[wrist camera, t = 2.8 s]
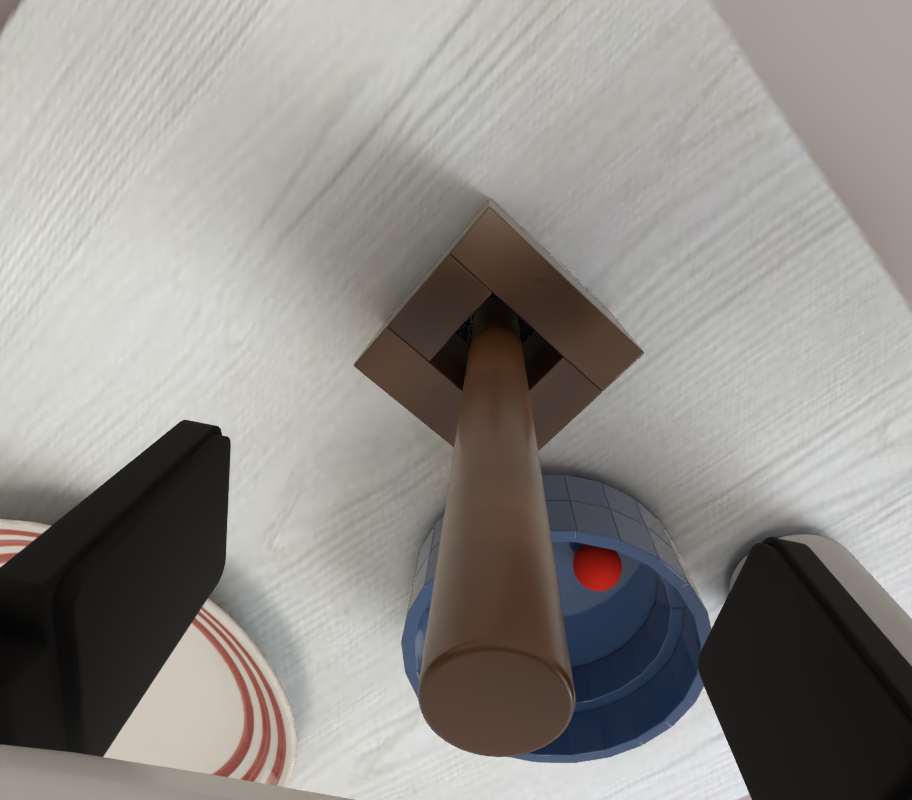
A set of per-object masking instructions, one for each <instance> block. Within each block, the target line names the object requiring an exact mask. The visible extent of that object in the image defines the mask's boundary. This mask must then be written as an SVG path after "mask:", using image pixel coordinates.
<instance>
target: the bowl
mask: <svg viewBox="0 0 912 800" xmlns="http://www.w3.org/2000/svg"><path fill="white" fill-rule="evenodd" d="M542 480H543V486H544V493H545V499H546V506H547V512H548V519H549V525H550V532H551V539H552V545H553V552H554V558H555V565H556V571H557V578H558V584H559V591H560V597H561V604H562V610H563V617H564V623H565V630H566V636H567V643H568V649H569V656H570V663H571V669H572V676H573V682H574V689H575V698H576V701H575V709H574V712H573V715H572V718H571V720H570V722H569V724H568V726H567V728H566V729H565V730H564V732H563V733H562V734H561V735H560V736H559V737H558V738H557V739H555V740H554V741H553V742H551V743H550V744H548V745H546V746H545V747H543V748H541V749H538V750H536V751H533V752H530V753H527V754H522V755H517V756H509V757H512V758H517V759H522V760H527V761H532V762H544V763H572V762H573V763H577V762H583V761H589V760H596V759H602V758H608V757H612V756H614V755H617V754H620V753H623V752H625V751H628V750H631V749H634V748H636V747H639V746H642V744H645V743H647V742H648V741H650V740H652V739H653V738H655V737H657V736H658V735H660V734H661V733H663V732H665V731H666V730H668V729H669V728H671V727H672V726H673V725H674V724H675V723H676V722H677V721H678V720H679V719H680V718H681V717H682V716H683V715H684V714H685V713H686V712H687V711H688V710H689V709H690V708H691V707H692V706H693V705H694V703H695V702H696V700H697V698H698V697H699V695H700V693H701V691H702V689H703V687H704V684H703V682H702V680H701V677H700V674H699V670H698V658H699V654H700V651H701V649H702V647H703V645H704V643H705V641H706V639H707V637H708V635H709V633H710V631H711V626H710V621H709V617H708V612H707V610H706V608H705V606H704V604H703V602H702V600H701V598H700V596H699V594H698V591H697V589H696V587H695V585H694V583H693V581H692V579H691V577H690V575H689V573H688V571H687V569H686V567H685V565H684V563H683V560H682V558H681V556H680V554H679V552H678V550H677V548H676V546H675V544H674V543H673V541H672V539H671V538H670V536H669V535H668V533H667V531H666V530H665V528H664V527H663V525H662V523H661V522H660V521H659V520H658V518H656V517H655V516H654V515H653V514H652V513H651V512H649V511H648V510H647V509H646V508H645V507H644V506H642V505H641V504H640V503H639V502H638V501H637V500H636V499H633V498H632V497H630V496H628V495H626V494H624V493H622V492H620V491H618V490H616V489H614V488H612V487H610V486H607V485H605V484H603V483H601V482H598V481H593V480H588V479H583V478H578V477H574V476H569V475H542ZM443 519H444V516H443V517H442V518H441V519H440V520H439V521H438V522H437V523H436V524H435V525H434V527H433V528H432V530H431V532H430V534H429V535H428V537H427V539H426V541H425V542H424V544H423V546H422V548H421V550H420V553H419V557H418V562H417V567H416V571H415V576H414V581H413V586H412V591H411V596H410V601H409V606H408V611H407V616H406V621H405V626H404V631H403V636H402V641H401V645H402V652H403V660H404V667H405V672H406V675H407V677H408V679H409V681H410V683H411V685H412V687H413V689H414V691H415V693H416V695H417V697H418V686H419V679H420V672H421V666H422V659H423V652H424V646H425V639H426V632H427V626H428V619H429V612H430V606H431V599H432V592H433V586H434V579H435V572H436V566H437V559H438V553H439V546H440V539H441V533H442V526H443ZM584 544H587V545H592V546H596V547H601V548H606V549H611V550H615V551H616V552H617V553H618V555H619V557H620V559H621V563H622V573H621V577H620V579H619V581H618V582H617V583H616V584H615V585H614V586H613V587H612V588H610V589H608V590H605V591H593V590H590V589H588V588H586V587H585V586H583V585H582V584H581V583H580V582H579V581H578V579H577V578H576V576H575V574H574V570H573V559H574V555H575V553H576V552H577V550H578V549H579V548H580V547H581V546H582V545H584Z"/></svg>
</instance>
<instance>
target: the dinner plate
mask: <svg viewBox="0 0 912 800" xmlns="http://www.w3.org/2000/svg"><path fill="white" fill-rule="evenodd" d="M51 526H52V525H47V524H41V523H36V522H29V521H20V520H9V519H0V567H1V566H3V565H4V564H5V563H6V562H7V561H9V560H10V559H11V558H12V557H14V556H15V555H16V554H17V553H19V552H20V551H21V550H22V549H24V548H25V547H26V546H27V545H29V544H30V543H31V542H32V541H33V540H35V539H36V538H37V537H38V536H40V535H41V534H42V533H43V532H45V531H46V530H47V529H48V528H50V527H51ZM103 757H105V758H112V759H118V760H124V761H131V762H137V763H143V764H149V765H156V766H162V767H168V768H175V769H181V770H187V771H193V772H200V773H206V774H212V775H218V776H223V777H229V778H235V779H240V780H246V781H252V782H257V783H263V784H268V785H274V786H280V787H285V788H287V787H288V785H289V783H290V781H291V778H292V775H293V771H294V767H295V763H296V757H297V736H296V729H295V722H294V718H293V714H292V711H291V707H290V704H289V702H288V699H287V696H286V694H285V691H284V689H283V687H282V685H281V683H280V681H279V679H278V677H277V676H276V674H275V672H274V670H273V669H272V667H271V666H270V664H269V662H268V661H267V659H266V658H265V656H264V655H263V653H262V652H261V651H260V649H259V648H258V647H257V646H256V644H255V643H254V642H253V641H252V639H251V638H250V637H249V635H248V634H247V633H246V632H245V631H244V630H243V629H242V628H241V627H240V626H239V625H238V624H237V623H236V622H235V621H234V620H233V619H232V618H231V617H230V616H229V615H228V614H227V613H226V612H225V611H224V610H223V609H221V608H220V607H219V606H218V605H217V604H216V603H215V602H213V601H212V600H211V599H210V598H208V599H207V600H206V602H205V603H204V605H203V606H202V608H201V609H200V611H199V612H198V614H197V616H196V617H195V619H194V620H193V622H192V623H191V625H190V626H189V628H188V629H187V631H186V632H185V634H184V635H183V637H182V638H181V640H180V641H179V643H178V644H177V646H176V647H175V649H174V650H173V652H172V653H171V655H170V657H169V658H168V660H167V661H166V663H165V664H164V666H163V667H162V669H161V670H160V672H159V673H158V675H157V676H156V678H155V679H154V681H153V682H152V684H151V685H150V687H149V688H148V690H147V691H146V693H145V694H144V696H143V697H142V699H141V701H140V702H139V704H138V705H137V707H136V708H135V710H134V711H133V713H132V714H131V716H130V717H129V719H128V720H127V722H126V723H125V725H124V726H123V728H122V729H121V731H120V732H119V734H118V735H117V737H116V738H115V740H114V741H113V743H112V745H111V746H110V748H109V749H108V751H107V752H106V754H105V755H104V756H103Z"/></svg>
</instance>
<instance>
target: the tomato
mask: <svg viewBox="0 0 912 800" xmlns="http://www.w3.org/2000/svg"><path fill="white" fill-rule="evenodd" d="M573 570H574V574H575V576H576V578H577V579H578V581H579V582H580V583H581V584H582V585H583V586H585V587H586V588H588V589H590V590H593V591H605V590H608V589H610V588H612V587H613V586H614V585H615V584H616V583H617V582H618V581H619V579H620V577H621V573H622V563H621V559H620V557H619V555H618V553H617V552H616V551H615V550H611V549H606V548H601V547H596V546H592V545H587V544H584V545H582V546H581V547H580V548H579V549H578V550H577V552H576V553H575V555H574V559H573Z"/></svg>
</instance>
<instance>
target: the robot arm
mask: <svg viewBox="0 0 912 800" xmlns="http://www.w3.org/2000/svg"><path fill="white" fill-rule="evenodd" d="M230 447H231V445H230V439H229V437H226V436H222V433H221V429H220V428H219V427H218V426H214V425H209V424H204V423H199V422H194V421H189V420H183V421H181V422H179V423H178V424H177V425H176V426H175V427H173V428H172V429H171V430H170V431H168V432H167V433H166V434H165V435H163V436H162V437H161V438H160V439H158V440H157V441H156V442H155V443H153V444H152V445H151V446H150V447H149V448H147V449H146V450H145V451H144V452H142V453H141V454H140V455H139V456H137V457H136V458H135V459H134V460H132V461H131V462H130V463H129V464H128V465H126V466H125V467H124V468H123V469H121V470H120V471H119V472H118V473H116V474H115V475H114V476H113V477H111V478H110V479H109V480H108V481H106V482H105V483H104V484H103V485H102V486H100V487H99V488H98V489H97V490H95V491H94V492H93V493H92V494H90V495H89V496H88V497H87V498H85V499H84V500H83V501H82V502H80V503H79V504H78V505H77V506H76V507H74V508H73V509H72V510H71V511H69V512H68V513H67V514H66V515H64V516H63V517H62V518H61V519H59V520H58V521H57V522H56V523H55V524H53V525H52V526H51V527H50V528H48V529H47V530H46V531H45V532H43V533H42V534H41V535H40V536H38V537H37V538H36V539H35V540H33V541H32V542H31V543H30V544H29V545H27V546H26V547H25V548H24V549H22V550H21V551H20V552H19V553H17V554H16V555H15V556H14V557H12V558H11V559H10V560H9V561H7V562H6V563H5V564H4V565H3V566H1V567H0V800H353V799H347V798H341V797H336V796H330V795H325V794H319V793H313V792H308V791H302V790H296V789H291V788H285V787H280V786H274V785H268V784H263V783H257V782H252V781H246V780H240V779H235V778H229V777H223V776H218V775H212V774H206V773H200V772H193V771H187V770H181V769H175V768H168V767H162V766H156V765H149V764H143V763H137V762H131V761H124V760H118V759H112V758H105V757H103V756H104V755H105V754H106V752H107V751H108V749H109V748H110V746H111V745H112V743H113V741H114V740H115V738H116V737H117V735H118V734H119V732H120V731H121V729H122V728H123V726H124V725H125V723H126V722H127V720H128V719H129V717H130V716H131V714H132V713H133V711H134V710H135V708H136V707H137V705H138V704H139V702H140V701H141V699H142V697H143V696H144V694H145V693H146V691H147V690H148V688H149V687H150V685H151V684H152V682H153V681H154V679H155V678H156V676H157V675H158V673H159V672H160V670H161V669H162V667H163V666H164V664H165V663H166V661H167V660H168V658H169V657H170V655H171V653H172V652H173V650H174V649H175V647H176V646H177V644H178V643H179V641H180V640H181V638H182V637H183V635H184V634H185V632H186V631H187V629H188V628H189V626H190V625H191V623H192V622H193V620H194V619H195V617H196V616H197V614H198V612H199V611H200V609H201V608H202V606H203V605H204V603H205V602H206V600H207V599H208V597H209V596H210V594H211V593H212V591H213V590H214V588H215V587H216V585H217V584H218V582H219V580H220V578H221V576H222V573H223V570H224V566H225V559H226V537H227V515H228V492H229V470H230ZM698 670H699V674H700V677H701V680H702V682H703V684H704V687H705V689H706V692H707V694H708V696H709V699H710V701H711V703H712V706H713V708H714V710H715V713H716V715H717V718H718V720H719V722H720V725H721V727H722V729H723V732H724V734H725V737H726V739H727V741H728V744H729V746H730V748H731V751H732V753H733V756H734V758H735V760H736V763H737V765H738V767H739V770H740V772H741V775H742V777H743V779H744V782H745V784H746V786H747V789H748V791H749V794H750V796H751V798H752V800H912V666H911V665H910V664H909V662H908V661H907V660H906V659H905V658H904V657H903V655H902V654H901V653H900V652H899V651H898V650H897V648H896V647H895V646H894V645H893V644H892V643H891V641H890V640H889V639H888V638H887V637H886V636H885V635H884V633H883V632H882V631H881V630H880V629H879V628H878V626H877V625H876V624H875V623H874V622H873V621H872V619H871V618H870V617H869V616H868V615H867V614H866V612H865V611H864V610H863V609H862V608H861V607H860V605H859V604H858V603H857V602H856V601H855V600H854V598H853V597H852V596H851V595H850V594H849V593H848V591H847V590H846V589H845V588H844V587H843V586H842V584H841V583H840V582H839V581H838V580H837V579H836V577H835V576H834V575H833V574H832V573H831V572H830V571H829V569H828V568H827V567H826V566H825V565H824V564H823V562H822V561H821V560H820V559H819V558H818V557H817V555H816V554H815V553H814V552H813V551H812V550H811V548H810V547H808V546H807V545H806V544H803V543H798V542H794V541H789V540H784V539H779V538H774V537H770V538H767V539H765V540H764V541H763V542H762V543H758V544H755V545H754V546H753V547H752V549H751V550H750V552H749V554H748V556H747V558H746V560H745V563H744V565H743V567H742V569H741V571H740V573H739V575H738V577H737V579H736V581H735V583H734V585H733V587H732V589H731V591H730V593H729V595H728V597H727V599H726V601H725V603H724V605H723V607H722V609H721V611H720V613H719V615H718V617H717V619H716V621H715V623H714V625H713V627H712V629H711V631H710V633H709V635H708V637H707V639H706V641H705V643H704V645H703V647H702V649H701V651H700V654H699V658H698Z"/></svg>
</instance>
